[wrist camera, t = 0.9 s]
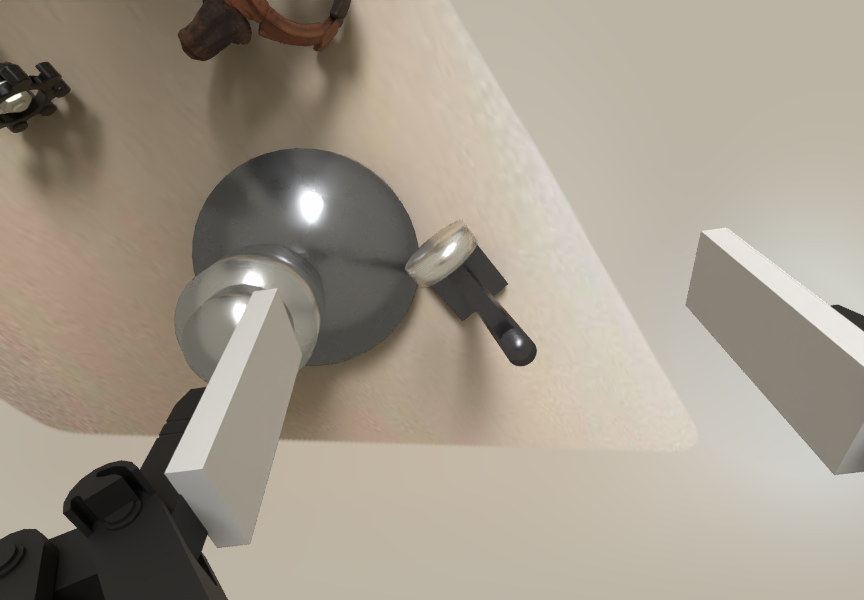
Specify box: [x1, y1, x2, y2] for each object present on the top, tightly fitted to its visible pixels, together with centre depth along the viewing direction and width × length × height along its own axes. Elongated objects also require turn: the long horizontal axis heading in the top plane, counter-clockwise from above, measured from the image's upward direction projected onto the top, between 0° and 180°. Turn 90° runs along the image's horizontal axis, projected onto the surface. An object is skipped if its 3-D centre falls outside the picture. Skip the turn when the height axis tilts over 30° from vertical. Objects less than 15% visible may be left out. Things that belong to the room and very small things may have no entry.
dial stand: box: [405, 220, 537, 366], centre depth 32 cm, size 10×5×16 cm, turn 39°
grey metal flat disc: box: [192, 148, 418, 366], centre depth 37 cm, size 17×17×2 cm
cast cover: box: [175, 244, 325, 383], centre depth 33 cm, size 9×9×9 cm
